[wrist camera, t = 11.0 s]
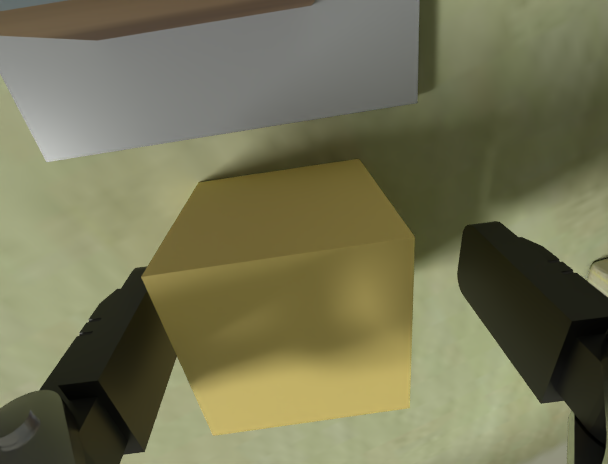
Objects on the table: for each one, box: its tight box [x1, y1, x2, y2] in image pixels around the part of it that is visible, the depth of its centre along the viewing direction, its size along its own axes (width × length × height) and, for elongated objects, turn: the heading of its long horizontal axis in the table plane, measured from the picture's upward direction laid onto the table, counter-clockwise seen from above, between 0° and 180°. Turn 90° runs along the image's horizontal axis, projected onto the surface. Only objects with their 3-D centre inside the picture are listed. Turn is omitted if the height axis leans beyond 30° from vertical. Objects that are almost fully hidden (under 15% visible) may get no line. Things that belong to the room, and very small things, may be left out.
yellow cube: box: [141, 159, 415, 436], centre depth 9 cm, size 5×5×5 cm
